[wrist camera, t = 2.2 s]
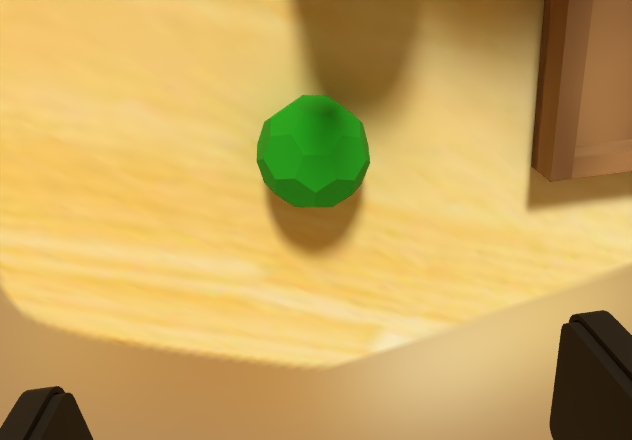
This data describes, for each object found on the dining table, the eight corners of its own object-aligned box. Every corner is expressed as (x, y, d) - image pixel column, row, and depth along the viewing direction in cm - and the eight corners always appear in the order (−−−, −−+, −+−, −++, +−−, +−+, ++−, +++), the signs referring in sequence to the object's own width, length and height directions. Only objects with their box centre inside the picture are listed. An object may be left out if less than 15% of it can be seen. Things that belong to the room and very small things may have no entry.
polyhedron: (246, 102, 23) (236, 131, 19) (347, 72, 23) (360, 95, 19) (279, 196, 26) (277, 240, 21) (371, 169, 25) (388, 209, 21)
